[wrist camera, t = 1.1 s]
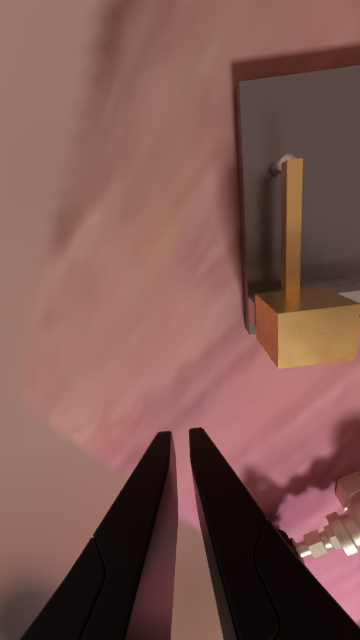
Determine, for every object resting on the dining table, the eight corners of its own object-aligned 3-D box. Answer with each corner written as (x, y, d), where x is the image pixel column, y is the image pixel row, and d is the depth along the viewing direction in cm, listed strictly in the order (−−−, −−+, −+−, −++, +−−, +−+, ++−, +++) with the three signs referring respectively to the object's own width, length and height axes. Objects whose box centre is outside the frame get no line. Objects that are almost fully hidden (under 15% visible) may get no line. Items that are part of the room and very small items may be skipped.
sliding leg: (312, 155, 16) (380, 122, 11) (306, 322, 20) (356, 359, 14) (244, 164, 16) (277, 136, 11) (250, 329, 20) (278, 368, 14)
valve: (361, 453, 26) (247, 504, 28) (421, 527, 19) (268, 587, 21) (384, 496, 28) (275, 542, 30) (445, 576, 21) (302, 627, 23)
